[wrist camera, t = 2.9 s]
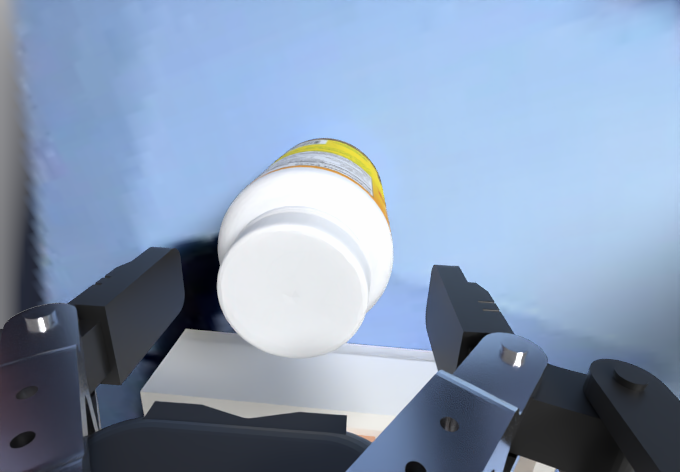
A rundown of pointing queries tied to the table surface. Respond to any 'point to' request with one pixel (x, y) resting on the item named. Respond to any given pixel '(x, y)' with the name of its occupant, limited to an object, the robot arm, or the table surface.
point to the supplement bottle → (305, 250)
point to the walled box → (295, 382)
